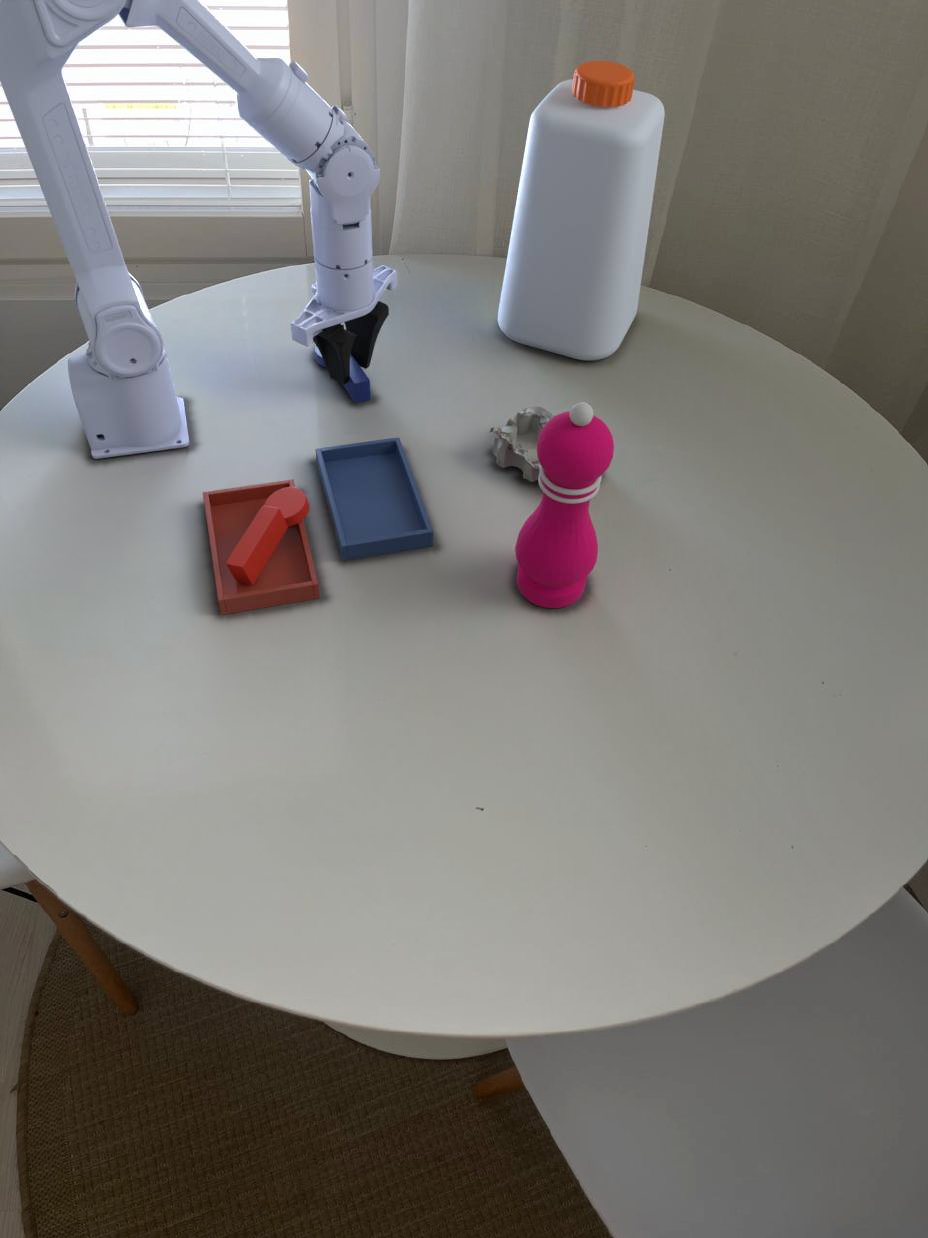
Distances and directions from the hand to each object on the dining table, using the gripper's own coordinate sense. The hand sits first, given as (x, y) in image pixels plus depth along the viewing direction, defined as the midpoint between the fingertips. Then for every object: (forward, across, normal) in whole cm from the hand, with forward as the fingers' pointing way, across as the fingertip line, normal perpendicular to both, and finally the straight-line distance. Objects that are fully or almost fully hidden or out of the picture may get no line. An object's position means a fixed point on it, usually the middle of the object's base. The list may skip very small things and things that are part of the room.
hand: (350, 371), depth 100 cm
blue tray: (+2, +14, +14) cm, 20 cm away
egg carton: (+2, -2, +24) cm, 24 cm away
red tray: (+1, +25, +10) cm, 27 cm away
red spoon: (0, +24, +11) cm, 27 cm away
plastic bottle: (+2, -26, +12) cm, 29 cm away
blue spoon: (+2, -1, -1) cm, 2 cm away
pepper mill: (+2, +12, +34) cm, 36 cm away
